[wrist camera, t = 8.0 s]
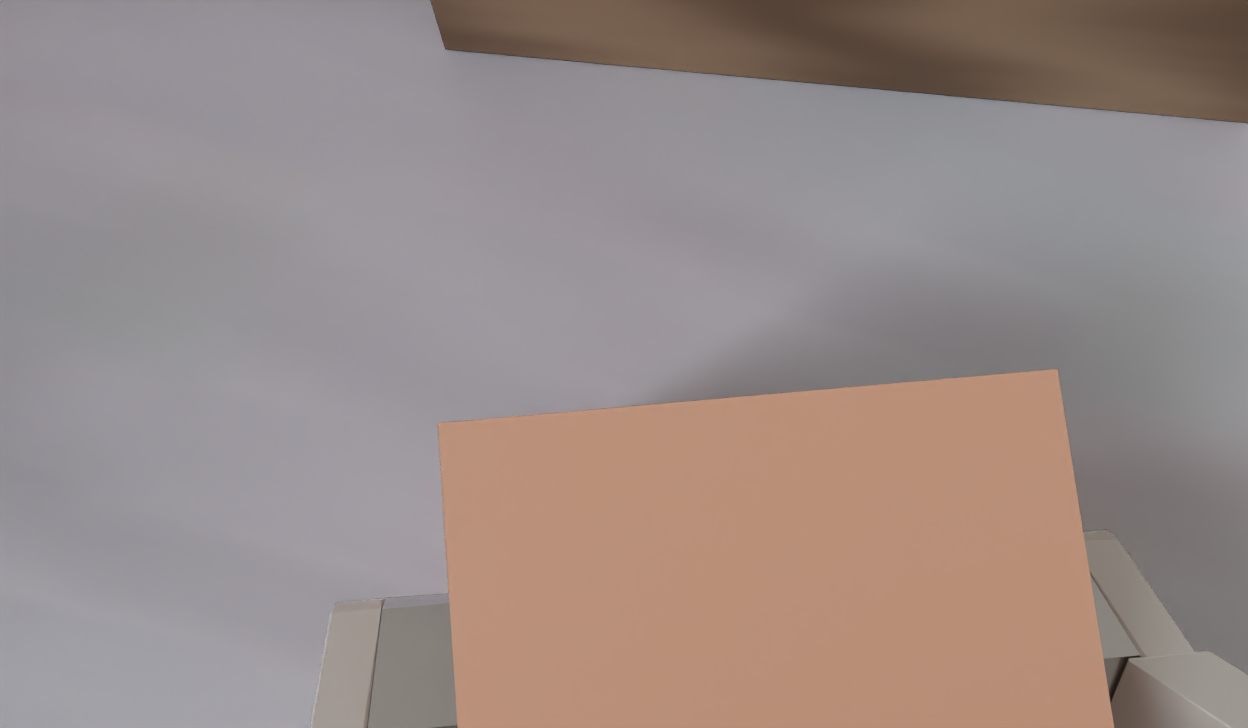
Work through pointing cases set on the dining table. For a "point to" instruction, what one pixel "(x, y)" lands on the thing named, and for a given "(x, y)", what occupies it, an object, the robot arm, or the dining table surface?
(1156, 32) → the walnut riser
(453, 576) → the terracotta block
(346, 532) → the dining table surface
